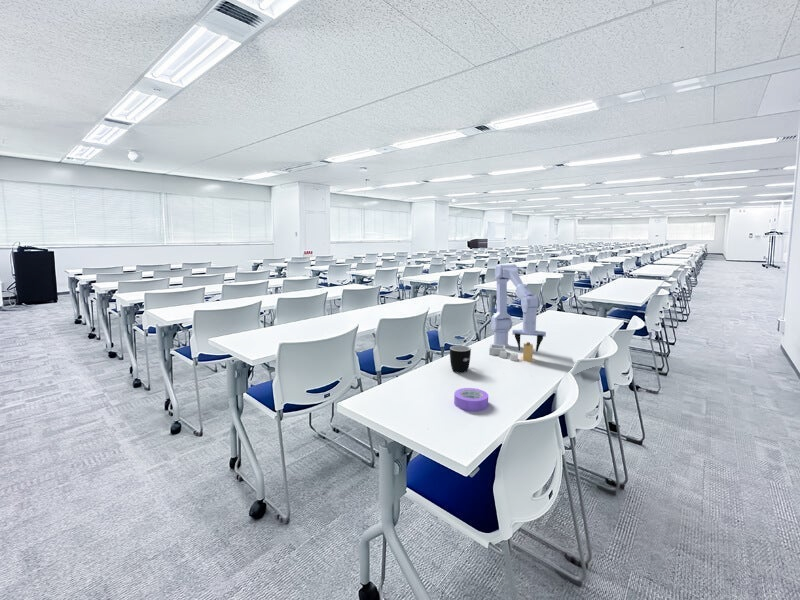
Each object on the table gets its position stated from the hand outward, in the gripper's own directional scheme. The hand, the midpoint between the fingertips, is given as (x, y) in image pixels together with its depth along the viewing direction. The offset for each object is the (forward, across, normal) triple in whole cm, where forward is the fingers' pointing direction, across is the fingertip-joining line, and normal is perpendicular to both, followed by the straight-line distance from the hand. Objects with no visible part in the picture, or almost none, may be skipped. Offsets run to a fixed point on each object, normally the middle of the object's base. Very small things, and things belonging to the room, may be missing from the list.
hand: (528, 350), depth 176 cm
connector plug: (+4, 0, 0) cm, 4 cm away
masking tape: (+6, -20, -53) cm, 57 cm away
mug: (+6, -28, -19) cm, 34 cm away
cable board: (+6, -7, +3) cm, 10 cm away
